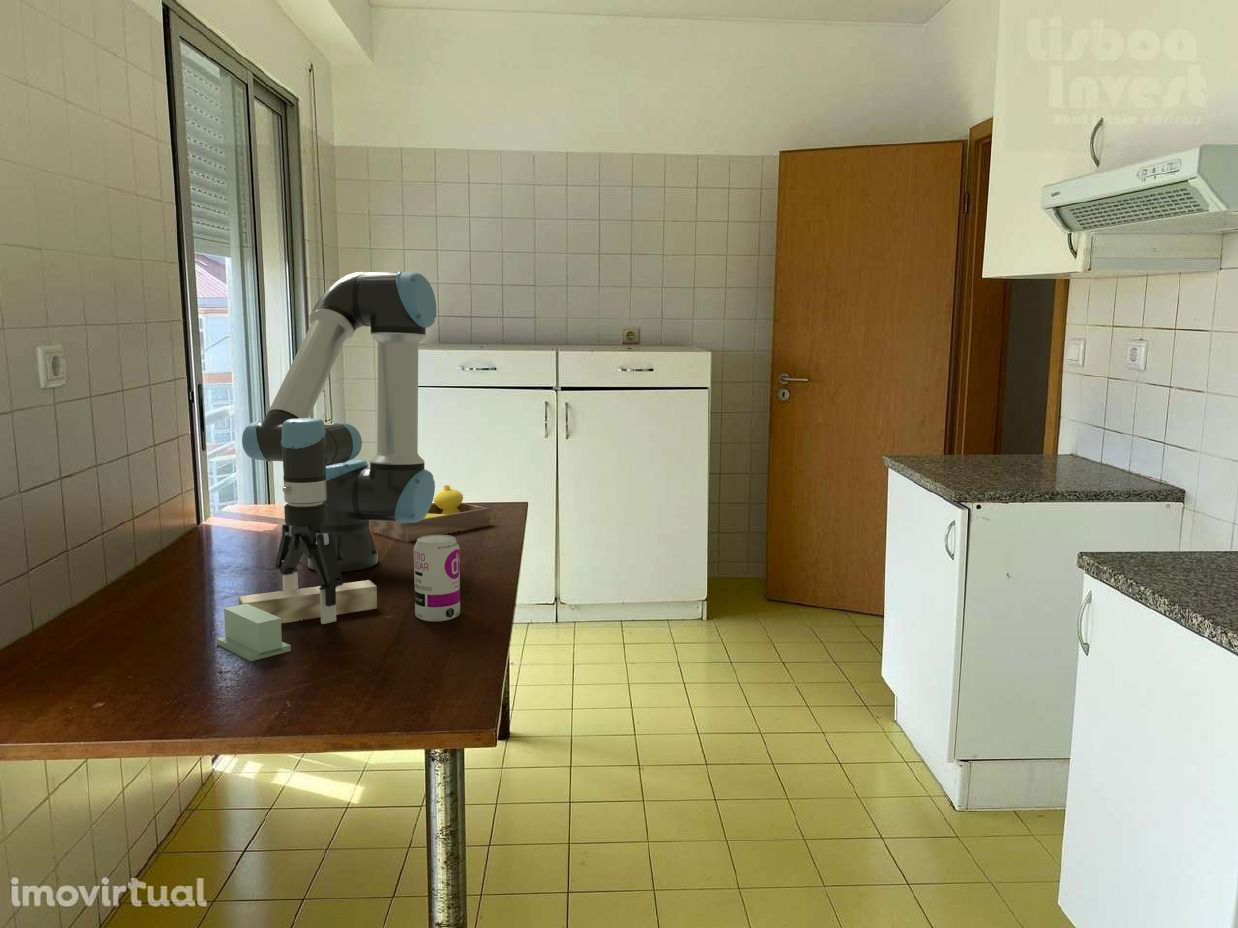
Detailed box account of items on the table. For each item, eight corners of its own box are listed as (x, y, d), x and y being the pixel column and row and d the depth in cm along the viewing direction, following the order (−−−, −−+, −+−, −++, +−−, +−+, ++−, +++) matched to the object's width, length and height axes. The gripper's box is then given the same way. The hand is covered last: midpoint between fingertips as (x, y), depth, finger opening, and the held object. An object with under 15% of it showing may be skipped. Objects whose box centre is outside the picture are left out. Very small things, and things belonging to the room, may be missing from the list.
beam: (244, 630, 172) (243, 603, 171) (239, 622, 176) (238, 596, 176) (377, 611, 184) (376, 586, 183) (369, 604, 188) (369, 580, 188)
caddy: (371, 536, 248) (370, 513, 247) (452, 521, 267) (452, 500, 266) (407, 546, 237) (406, 522, 236) (489, 530, 256) (489, 508, 255)
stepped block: (217, 644, 163) (215, 610, 163) (256, 634, 168) (254, 601, 168) (250, 661, 155) (248, 625, 154) (290, 650, 160) (289, 616, 160)
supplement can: (467, 613, 182) (466, 536, 180) (446, 626, 175) (444, 545, 172) (430, 609, 185) (428, 532, 183) (407, 621, 177) (405, 541, 175)
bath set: (423, 542, 245) (416, 501, 243) (395, 540, 251) (388, 500, 249) (476, 521, 261) (470, 482, 259) (449, 519, 267) (443, 482, 265)
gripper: (253, 496, 183) (258, 605, 186) (322, 514, 166) (326, 633, 169) (290, 492, 188) (294, 597, 191) (360, 509, 171) (363, 624, 174)
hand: (309, 614), depth 180 cm, fingers open, 13 cm apart
